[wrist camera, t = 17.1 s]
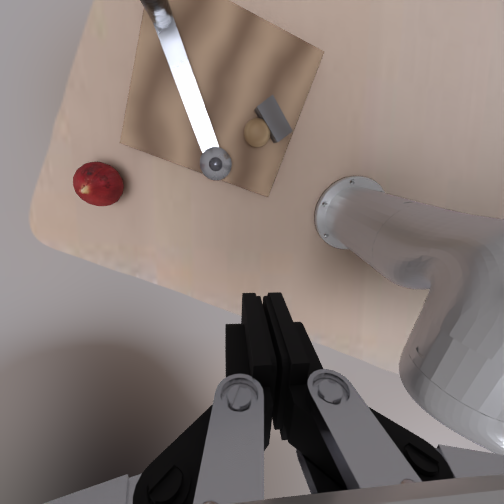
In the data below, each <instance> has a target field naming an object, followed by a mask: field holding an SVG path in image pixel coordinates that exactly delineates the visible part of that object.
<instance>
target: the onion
mask: <svg viewBox="0 0 504 504" xmlns="http://www.w3.org/2000/svg"><path fill="white" fill-rule="evenodd" d="M73 186H74V189H75V192H76V193H77V194H78V196H79V197H80V198H81V199H82V200H84V201H86V202H87V203H89V204H92V205H96V206H108V205H111V204H113V203H115V202H117V201H118V200H119V198H120V196H121V195H122V194H123V188H124V185H123V181H122V178H121V176H120V175H119V173H118V172H117V171H116V170H115V169H114V168H113V167H111V166H110V165H108V164H104V163H101V162H90V163H86V164H84V165H83V166H81V167H80V168H79V169H78V170H77V171H76V173H75V175H74V177H73Z"/></svg>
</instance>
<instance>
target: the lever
mask: <svg viewBox="0 0 504 504" xmlns="http://www.w3.org/2000/svg"><path fill="white" fill-rule="evenodd" d="M140 1H141V3H142V4H143V6H144V8H145V10H146V12H147V13H148V15H149V17H150V19H151V21H152V22H153V24H154V27H155V29H156V32H157V35H158V37H159V40H160V43H161V45H162V48H163V50H164V53H165V56H166V58H167V61H168V64H169V66H170V69H171V71H172V74H173V77H174V79H175V82H176V85H177V87H178V90H179V92H180V95H181V98H182V100H183V103H184V106H185V108H186V111H187V113H188V116H189V119H190V121H191V124H192V127H193V129H194V132H195V134H196V137H197V140H198V142H199V145H200V148H201V150H202V153H203V154H202V155H201V158H200V168H201V170H202V172H203V174H204V175H205V176H206V177H208V178H209V179H212V180H221V179H224V178H225V177H226V176H227V175H228V174H229V173H230V171H231V167H232V162H231V158H230V156H229V154H228V153H227V152H226V151H225V150H224V149H222V148H219V145H218V142H217V140H216V137H215V134H214V131H213V128H212V125H211V123H210V120H209V117H208V114H207V111H206V108H205V106H204V103H203V100H202V97H201V94H200V91H199V89H198V86H197V83H196V80H195V77H194V74H193V72H192V69H191V66H190V63H189V60H188V57H187V55H186V52H185V49H184V46H183V43H182V40H181V38H180V35H179V32H178V29H177V26H176V23H175V21H174V18H173V14H172V10H171V7H170V4H169V1H168V0H140Z"/></svg>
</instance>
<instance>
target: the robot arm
mask: <svg viewBox="0 0 504 504" xmlns="http://www.w3.org/2000/svg"><path fill="white" fill-rule="evenodd" d="M350 180H351V182H350ZM323 202H324V204H323V205H322V203H323ZM315 226H316V229H317V231H318V233H319V235H320V237H321V238H322V239H323V240H324V241H325V242H326V243H327V244H329V245H331V246H332V247H335V248H338V249H350V250H351V251H352V252H354V253H355V254H356V255H357V256H359V257H360V258H361V259H363V260H364V261H365V262H366V263H368V264H369V265H370V266H371V267H373V268H374V269H375V270H377V271H378V272H379V273H380V274H382V275H383V276H384V277H386V278H387V279H388V280H390V281H391V282H393V283H395V284H397V285H399V286H402V287H405V288H410V289H430V290H429V293H428V296H427V298H426V300H425V302H424V304H423V308H422V310H421V312H420V315H419V317H418V319H417V321H416V323H415V325H414V327H413V329H412V331H411V333H410V336H409V338H408V340H407V343H406V345H405V347H404V349H403V352H402V355H401V357H400V362H399V373H400V378H401V381H402V383H403V385H404V387H405V389H406V390H407V392H408V393H409V395H410V396H411V397H412V398H413V399H414V401H415V402H416V403H417V404H418V405H419V406H420V407H421V408H422V409H423V410H425V411H426V412H427V413H429V415H431V416H432V417H433V418H435V419H436V420H437V421H439V422H440V423H442V424H443V425H445V426H446V427H448V428H449V429H451V430H453V431H454V432H456V433H458V434H459V435H461V436H463V437H465V438H467V439H468V440H471V441H472V442H474V443H476V444H478V445H480V446H482V447H484V448H486V449H488V450H490V451H492V452H493V453H487V452H481V451H475V450H469V449H462V448H457V447H451V446H445V445H438V447H437V448H434V447H433V446H432V445H431V444H429V443H428V442H426V441H425V440H424V439H422V438H420V437H419V436H417V435H415V434H413V433H412V432H410V431H408V430H407V429H405V428H403V427H402V426H400V425H398V424H396V423H395V422H393V421H391V420H390V419H388V418H386V417H385V416H383V415H381V414H380V413H378V412H376V411H375V410H373V409H371V408H369V407H368V406H367V405H366V403H365V402H364V400H363V399H362V398H361V396H360V395H359V394H358V392H357V391H356V389H355V388H354V387H353V385H352V384H351V383H350V382H349V380H347V378H345V377H344V376H343V375H341V374H340V373H338V372H335V371H333V370H328V369H323V367H322V365H321V363H320V361H319V358H318V356H317V354H316V352H315V350H314V348H313V345H312V343H311V341H310V339H309V337H308V334H307V332H306V330H305V328H304V326H303V324H302V323H301V322H293V320H292V318H291V315H290V313H289V311H288V308H287V306H286V303H285V301H284V298H283V296H282V294H281V293H280V292H279V293H268V296H264V297H263V305H262V301H261V297H260V296H256V294H255V293H243V295H242V321H241V322H242V323H241V324H226V378H225V379H223V380H222V381H221V382H220V384H219V385H218V387H217V389H216V392H215V397H214V402H213V405H211V406H210V407H209V408H208V409H207V410H206V411H205V412H204V413H203V414H202V415H201V416H200V417H199V418H198V419H197V420H196V421H195V422H194V423H193V424H192V425H191V426H189V428H187V429H186V430H185V431H184V432H183V433H182V434H181V435H180V436H179V437H178V438H177V439H176V440H175V441H174V442H173V443H172V444H171V445H170V446H168V448H166V449H165V450H164V451H163V452H162V453H161V454H160V455H159V456H158V457H157V458H156V459H155V460H154V461H153V462H152V463H151V464H150V465H149V466H148V467H147V468H146V469H145V471H144V472H143V473H142V474H139V475H137V476H134V477H131V478H128V475H124V476H121V477H119V478H115V479H113V480H110V481H107V482H104V483H101V484H98V485H95V486H92V487H90V488H87V489H84V490H81V491H78V492H75V493H72V494H70V495H67V496H64V497H61V498H58V499H55V500H52V501H49V502H46V503H44V504H504V219H500V218H491V217H485V216H478V215H471V214H467V213H462V212H457V211H453V210H448V209H444V208H440V207H437V206H433V205H428V204H424V203H420V202H417V201H413V200H409V199H405V198H402V197H398V196H394V195H390V194H387V193H385V192H384V190H383V189H382V187H381V186H380V185H379V184H378V183H377V182H376V181H374V180H372V179H370V178H367V177H362V176H350V177H346V178H343V179H341V180H338V181H337V182H335V183H334V184H332V185H331V186H330V187H329V188H328V189H327V190H326V191H325V192H324V193H323V195H322V196H321V198H320V199H319V201H318V203H317V207H316V210H315ZM324 234H325V235H324ZM272 419H273V425H274V429H275V430H277V429H280V434H281V439H282V440H288V442H289V443H290V444H291V445H292V446H294V447H295V448H296V453H297V457H298V460H299V463H300V466H301V468H302V471H303V474H304V476H305V479H306V481H307V484H308V487H309V489H310V492H311V494H308V495H300V496H291V497H282V498H274V499H266V500H264V451H265V449H266V448H267V446H268V445H269V439H270V430H271V422H272ZM494 453H495V454H494Z"/></svg>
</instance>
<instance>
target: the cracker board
mask: <svg viewBox="0 0 504 504" xmlns="http://www.w3.org/2000/svg"><path fill="white" fill-rule="evenodd" d="M168 1H169V4H170V7H171V10H172V14H173V18H174V21H175V23H176V26H177V29H178V32H179V35H180V38H181V40H182V43H183V46H184V49H185V52H186V55H187V57H188V60H189V63H190V66H191V69H192V72H193V74H194V77H195V80H196V83H197V86H198V89H199V91H200V94H201V97H202V100H203V103H204V106H205V108H206V111H207V114H208V117H209V120H210V123H211V125H212V128H213V131H214V134H215V137H216V140H217V142H218V145H219V148H222V149H224V150H225V151H226V152H227V153H228V154H229V156H230V158H231V162H232V167H231V171H230V173H229V174H228V175H227V176H226V177H225V178H224V179H221V180H222V181H225V182H228V183H230V184H233V185H236V186H239V187H241V188H244V189H247V190H249V191H252V192H255V193H258V194H260V195H263V196H266V197H268V196H269V193H270V190H271V188H272V185H273V183H274V180H275V178H276V175H277V172H278V170H279V167H280V165H281V162H282V160H283V157H284V154H285V152H286V149H287V147H288V144H289V141H290V139H291V136H292V134H293V131H294V129H295V126H296V123H297V121H298V118H299V116H300V113H301V111H302V108H303V105H304V103H305V100H306V98H307V95H308V93H309V90H310V87H311V85H312V82H313V80H314V77H315V75H316V72H317V69H318V67H319V64H320V62H321V59H322V56H323V54H324V51H322V50H320V49H318V48H316V47H315V46H313V45H311V44H309V43H307V42H305V41H303V40H302V39H300V38H298V37H296V36H294V35H292V34H290V33H289V32H287V31H285V30H283V29H281V28H279V27H277V26H276V25H274V24H272V23H270V22H268V21H266V20H264V19H263V18H261V17H259V16H257V15H255V14H253V13H251V12H250V11H248V10H246V9H244V8H242V7H240V6H238V5H236V4H235V3H233V2H231V1H229V0H168ZM120 143H121V144H124V145H127V146H130V147H132V148H135V149H138V150H140V151H143V152H146V153H149V154H151V155H154V156H157V157H159V158H162V159H165V160H168V161H170V162H173V163H176V164H179V165H181V166H184V167H187V168H189V169H192V170H195V171H198V172H200V173H203V172H202V170H201V168H200V158H201V155H202V154H203V153H202V150H201V148H200V145H199V142H198V140H197V137H196V134H195V132H194V129H193V127H192V124H191V121H190V119H189V116H188V113H187V111H186V108H185V106H184V103H183V100H182V98H181V95H180V92H179V90H178V87H177V85H176V82H175V79H174V77H173V74H172V71H171V69H170V66H169V64H168V61H167V58H166V56H165V53H164V50H163V48H162V45H161V43H160V40H159V37H158V35H157V32H156V29H155V27H154V24H153V22H152V21H151V19H150V17H149V15H148V13H147V12H146V10H145V8H144V11H143V16H142V22H141V27H140V33H139V39H138V44H137V50H136V55H135V61H134V66H133V72H132V78H131V83H130V89H129V94H128V100H127V106H126V111H125V117H124V122H123V128H122V134H121V139H120Z"/></svg>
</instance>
